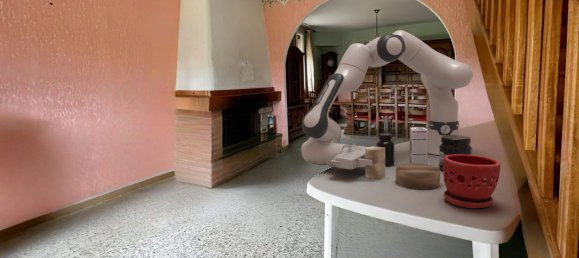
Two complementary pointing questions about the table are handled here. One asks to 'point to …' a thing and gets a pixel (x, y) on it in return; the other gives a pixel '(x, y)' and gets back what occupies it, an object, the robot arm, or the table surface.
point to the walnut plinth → (418, 176)
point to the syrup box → (418, 145)
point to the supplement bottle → (387, 148)
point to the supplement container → (454, 147)
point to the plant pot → (470, 180)
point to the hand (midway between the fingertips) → (377, 160)
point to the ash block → (375, 162)
